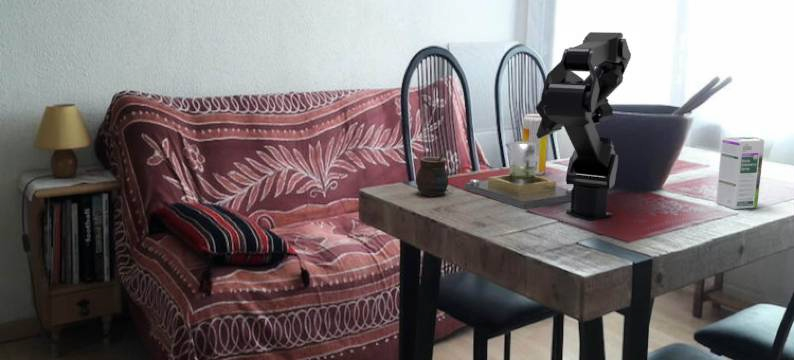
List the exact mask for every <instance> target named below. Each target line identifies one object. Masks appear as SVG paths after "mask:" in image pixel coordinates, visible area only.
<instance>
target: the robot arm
mask: <svg viewBox="0 0 794 360" xmlns="http://www.w3.org/2000/svg"><path fill="white" fill-rule="evenodd" d="M623 37H624V34H623V33H622V32H608V31H606V32H602V31H601V32H600V31H599V32H597V31H596V32H594V31H593V32H592V31H591V32H588V34H587V35H586V36H585V37H584V38H583V41H582V43H581V44H578V45H576V46H573V47H572V46H571V47H569V48H565V49H564V50H563V54H562V57H561V60H560V61H559V62H558V63H557V64H556V65H555V67H554V68H553V67H552V69H551V70H550V71H549V72H548V73H547V75H546V78H545V82H544V85H543V89H542V93H541V97H540V98H541V99H540V101H539V102H538V103H537V104H536V105H535V111H537V114H539V115H540V116H541V118H542V119H541V123H540V126H539V128H538V131H537V134H536V135H537V137H538V138H539V139H540V138H542V137H545V136H547V137H548V136H549V135H551V134H554V133H555V132H558V131H561V130H562V128H564V130H565V132H566V134H567V136H568V138H569V140H570V142H571V144H572V147H573V149H574V150H573V152H572V155H571V156H570V158H569V162H568V165H567V170H566V176H565V182H566V185H572V188H573V189H572V195H571V201H570V209H566V210H565V213H566V214H569V215H571V216H574V217H575V216H576V217H577V218H581V219H583V220H584V219H585V220H588V221H592V220H596V219H602V218H608V217H612V216H613V213H611V212H608V211H607V207H608V196H609V192H608V191H609V190H610V189H612V188H613V187H614V186H615V184H616V183H615V182H616V177H617V171H618V170H617V169H618V165H619V164H618V163H619V156H618V154H616V151H615V149H614V148H615V145H614V144H613V141H612V139H611V138H610V137H606V136H605V137H604V136H599V133H598V131H597V128H596V125H597V124H601V123H602V122H605V121H608V120H609V119H611V117H612V116H613V111H614V109H613V107H612V106H611V104H610V103H609V99H608V98H609V96H611V95H612V93H613V92H614V91H615V90H617V88H618V87H620V85H621V84H622V83H623V80H624V74H625V72H626V69H627V67H628V64H629V62H630V60H631V58H632V53H631V51H630V49H629V46H628V42H627V39H626V38H623ZM576 72H588V73H589V75H588V76H586V78H585V79H583V78H582V77H581V76H579V75H578V74H577V73H576Z"/></svg>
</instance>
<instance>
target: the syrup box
mask: <svg viewBox="0 0 794 360" xmlns="http://www.w3.org/2000/svg"><path fill="white" fill-rule="evenodd" d="M764 147H765V140H764V139H762V138H759V137H754V136H747V135H745V136H728V137H722V138H721V149H720V156H719V157H720V158H719V166H718V167H719V168H718V179H717V189H716V199H715V203H716V204H717V205H721V206H723V207H725V208H729V209H732V210H740V209H741V210H742V209H757V208H758V202H759V196H760V195H759V194H760V184H761V174H762V166H763V159H764V158H763V157H764V149H765V148H764Z"/></svg>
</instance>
